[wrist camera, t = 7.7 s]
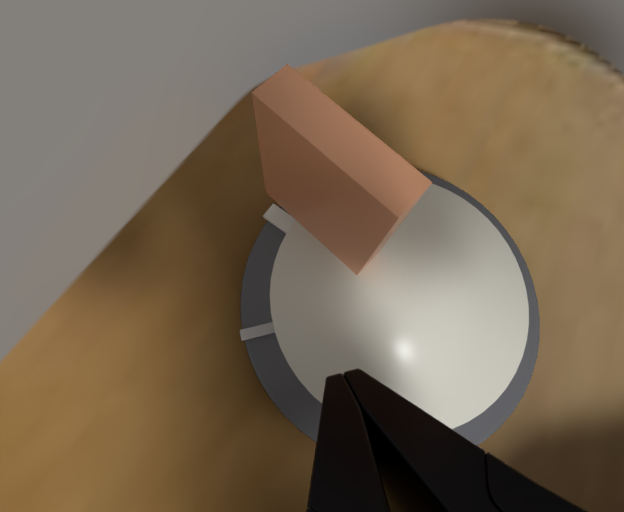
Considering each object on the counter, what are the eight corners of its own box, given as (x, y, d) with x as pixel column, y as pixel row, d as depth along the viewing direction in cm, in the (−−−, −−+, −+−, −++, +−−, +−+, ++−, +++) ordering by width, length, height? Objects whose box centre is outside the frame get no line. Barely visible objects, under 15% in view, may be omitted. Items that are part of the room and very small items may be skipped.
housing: (535, 214, 21) (551, 203, 20) (510, 499, 17) (529, 511, 16) (289, 148, 22) (288, 134, 20) (201, 412, 17) (194, 415, 16)
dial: (558, 294, 18) (749, 242, 11) (412, 495, 15) (532, 622, 8) (353, 125, 21) (389, -17, 13) (190, 272, 18) (114, 200, 10)
